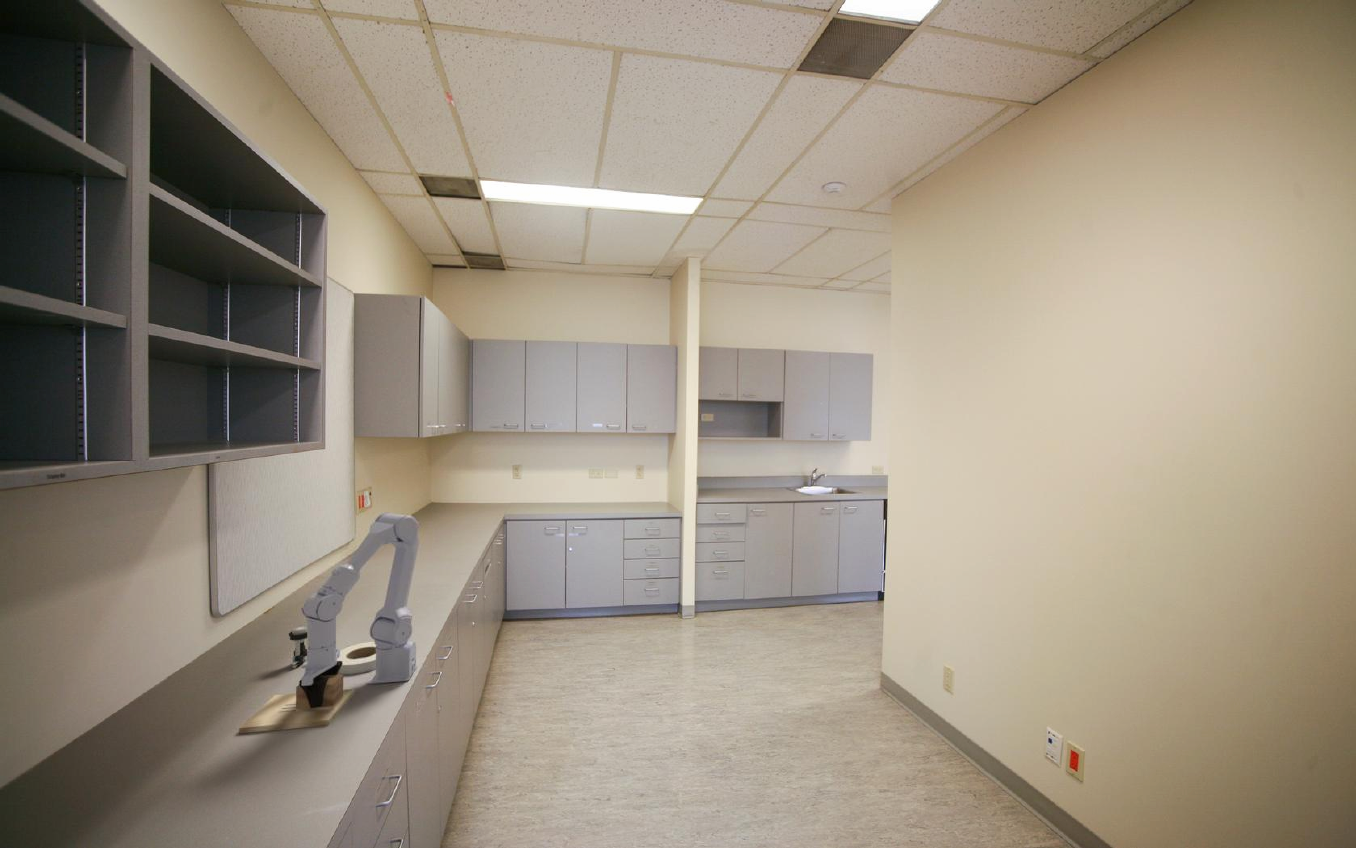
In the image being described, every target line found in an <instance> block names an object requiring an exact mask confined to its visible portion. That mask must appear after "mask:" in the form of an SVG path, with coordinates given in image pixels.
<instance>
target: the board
mask: <svg viewBox="0 0 1356 848" xmlns="http://www.w3.org/2000/svg"><path fill="white" fill-rule="evenodd" d="M354 695H355V688H346V689H344V688H343V699H342V700H341V702H340V703H339V704H338V705H337V706H336V707H335V709H334V710H322V711H309V712H296V693H287V694H274V695H273V696H272V697H271V698H270V699H269V700H268V701H267V702H266V703H264V705H263V706H261V708H259V709H258V710H257V711H256V712H255V713H253V715H252V716H251V717H250V718H248V719H247V720H246V721H245V722H244V723H243V724H242V725H241V726H240V727H239V728H238V734H246V733H258V732H269V731H280V729H281V730H288V729H289V730H292V729H300V728H310V727H321V726H329V725H331V723H332V722H333V720H334V719H335V718H336V717H337V716H338V714H339V713H340V712H341V710H343V709H344V707H345V706H346V705H347V704H348V702H349V701H350V699H352V697H353V696H354Z"/></svg>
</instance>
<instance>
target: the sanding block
mask: <svg viewBox="0 0 1356 848" xmlns="http://www.w3.org/2000/svg"><path fill="white" fill-rule="evenodd" d="M324 677H329V679H328V681H327V683H326V686H325V689H324V694H323V701H322V705H321V707H318V708H310V705H309V702H308V699H307V696H306V694H305V692H304V690H303V689H302V688H301V687H300V686H299V684H298V685H296V687H295V694H296V712H309V711H322V710H334V709H335V707H336V706H337V705H338V704H339V703H340V702H341V700H342V699H343V690H344V674H339V673H338V675H324V676H321V678H324Z"/></svg>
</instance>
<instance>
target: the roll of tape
mask: <svg viewBox="0 0 1356 848" xmlns="http://www.w3.org/2000/svg"><path fill="white" fill-rule="evenodd" d="M364 656H366V657H364ZM359 657H362V658H359ZM337 661H342V662H343V664H342V666H341V668H340V670H339V672H338V675H339V674H343V675H353V674H361V673H366V672H369V671H373V670H376V644H375V641H368V642H362V643H357V644H353V645H351V646H347V647H345V648H343V649H340V657H339V658H337Z"/></svg>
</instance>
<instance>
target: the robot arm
mask: <svg viewBox="0 0 1356 848" xmlns="http://www.w3.org/2000/svg"><path fill="white" fill-rule="evenodd" d="M419 527H420V523H419V521H417V519H416V518H415V517H414V516H413V515H409V514H398V513H397V514H396V513H390V512H383V513H381V514H379V515H378V516H377V517H376V518H375V519H374V521H373V522H372V523H371V524H370V526H369V531H368V534H367V535H366V536H365V537H364V539H363V541H362V542H361V543H360V545H359V546H358V548H357V549H356V551H354V553H353V554H352V556H351V558H350V559H349V560H348V562H347V563H345V564H341V565H339V566H338V567H337V568H334V569H333V570H332V572H331V575H330V576H329V577H328V579H327V580H326V581H325V583H324V584H323V585H322V586H321V587H319V589H318V590H317V592H316V593H313V594H311V595H310V596H309V597H308V598H307V599H306V600H305V601H304V603H303V607H301V609H300V611H301V613H302V616H303V617H305V618H306V626H307V639H306V647H307V648H306V649H307V662H304V663H303V664H302V665H301V669H304V673H303V675H302V676H301V679H300V680H299V681H298V685H299V686H300V687H301V688H302V689H303V690H304V692H305V694H306V696H307V699H308V702H309V705H310V708H318V707H321V705H322V701H323V694H324V689H325V686H326V683H327V681H328V679H329V677H324V678H321V676H324V675H339V673H338V672H339V670H340V668H341V666H342V664H343V662H342V661H337V658H339V657H340V651H341V649H340V648H338V649H337V616H338V615H339V614H340V613H341V612H342V609H343V605H344V604H343V603H344V601H345V598H346V596H347V595H348V594H349V593H350V591H351V590H352V588H354V586H355V584H357V583H358V581H359V580H360V579H361V573H360V571H361V569H363V567H364V566H365V565H366V564H367V563H368V562H369V560H371V558H372V557H373V556H374V555H375V554H376V552H378V551H379V549H380V548H381V547H382V546H385V545H388V544H391V545H393V547H394V548H395V550H394V554H393V555H394V556H393V560H392V565H391V570H390V576H389V580H388V584H387V590H386V595H385V600H384V605H383V607H381V608H380V609H378V611H377V612H376V613H375V618H374V620H373V621H372V623H371V625H370V627H369V636H370V638H371V639H372V640H373V641H374V642H375V644H376V669H375V674H374V676H373V677H372V678H371V680H370V681H369V684H370V685H372V684H375V685H376V684H384V683H386V684H387V683H395V682H396V683H397V682H407V681H409V680H410V679H411V677H412V675H413V674H414V673H415V671H416V669H417V668H418V666H417V644H416V642H415V641H409V640H410V639H411V637H412V633H413V624H412V620H413V615H412V614H411V612H410V611H409V609H408V608H407V605H408V600H409V594H410V590H411V585H412V580H413V574H414V569H415V565H416V560H417V554H418V549H419V543H420V541H419V535H418V532H419Z"/></svg>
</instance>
